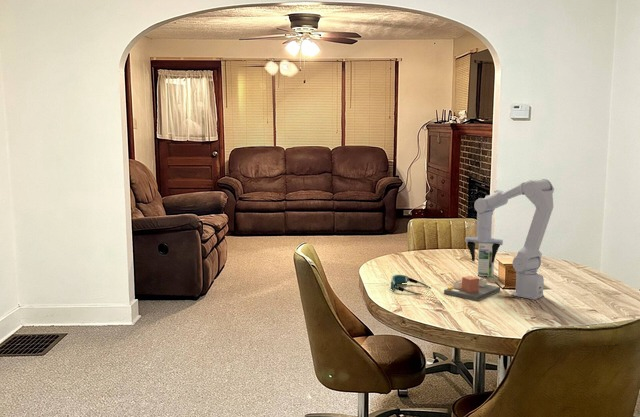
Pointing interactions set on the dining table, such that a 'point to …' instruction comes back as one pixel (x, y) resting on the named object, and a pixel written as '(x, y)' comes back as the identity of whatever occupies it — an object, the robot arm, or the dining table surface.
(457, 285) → the tagged breaker switch
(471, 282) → the block
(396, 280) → the sunglasses
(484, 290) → the breaker panel
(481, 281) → the breaker switch
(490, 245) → the syrup box
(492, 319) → the dining table surface
